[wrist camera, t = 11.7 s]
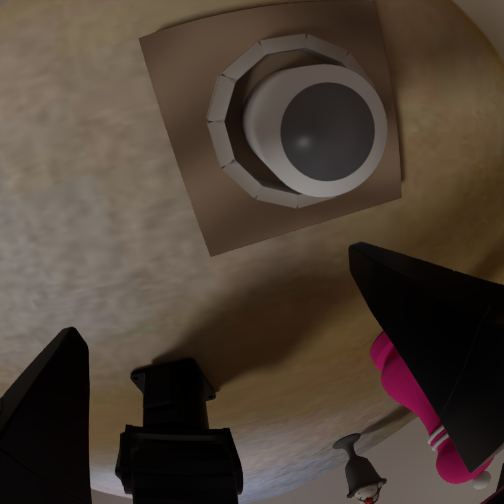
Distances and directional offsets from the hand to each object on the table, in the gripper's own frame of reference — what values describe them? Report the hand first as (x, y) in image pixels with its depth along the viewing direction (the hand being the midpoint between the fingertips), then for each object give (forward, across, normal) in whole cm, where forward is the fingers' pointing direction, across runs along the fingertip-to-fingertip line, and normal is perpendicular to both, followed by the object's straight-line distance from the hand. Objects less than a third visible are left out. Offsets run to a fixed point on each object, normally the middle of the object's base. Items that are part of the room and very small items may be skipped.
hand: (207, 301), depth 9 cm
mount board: (+12, -6, -3) cm, 14 cm away
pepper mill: (+12, -15, +22) cm, 29 cm away
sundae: (+12, -10, +46) cm, 49 cm away
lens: (+10, -6, -3) cm, 12 cm away
